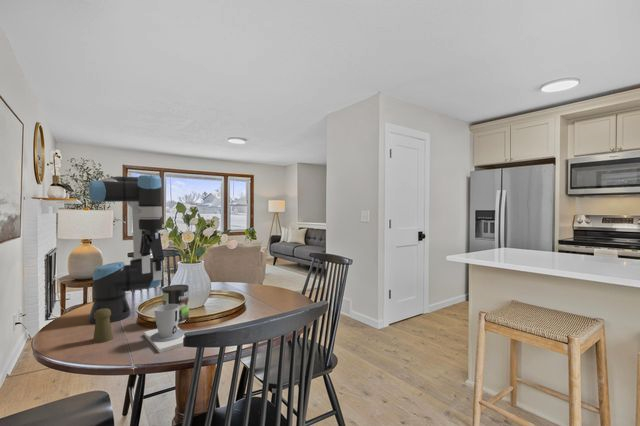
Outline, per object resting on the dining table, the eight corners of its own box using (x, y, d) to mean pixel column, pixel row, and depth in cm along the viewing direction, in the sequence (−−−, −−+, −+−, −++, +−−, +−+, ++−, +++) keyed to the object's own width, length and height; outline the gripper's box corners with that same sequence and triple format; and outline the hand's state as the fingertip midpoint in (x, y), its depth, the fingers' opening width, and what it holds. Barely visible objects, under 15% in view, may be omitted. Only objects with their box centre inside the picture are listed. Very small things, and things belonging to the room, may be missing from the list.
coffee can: (194, 316, 139) (193, 284, 139) (179, 325, 129) (178, 290, 129) (173, 315, 141) (172, 283, 141) (157, 324, 131) (156, 289, 131)
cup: (178, 337, 113) (177, 309, 113) (152, 340, 111) (152, 312, 110) (181, 329, 121) (180, 303, 120) (157, 331, 119) (157, 305, 118)
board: (144, 335, 120) (144, 331, 120) (174, 327, 127) (174, 323, 127) (159, 352, 105) (159, 348, 105) (193, 343, 112) (193, 338, 112)
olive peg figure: (91, 344, 112) (90, 313, 112) (94, 338, 117) (93, 308, 117) (112, 340, 115) (111, 310, 115) (114, 334, 120) (113, 305, 120)
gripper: (129, 217, 122) (131, 272, 123) (149, 220, 104) (150, 285, 105) (151, 216, 127) (152, 269, 128) (173, 219, 109) (174, 281, 110)
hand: (151, 276), depth 117 cm, fingers open, 13 cm apart
